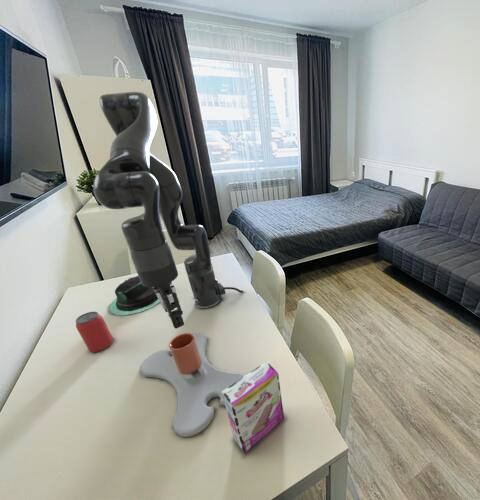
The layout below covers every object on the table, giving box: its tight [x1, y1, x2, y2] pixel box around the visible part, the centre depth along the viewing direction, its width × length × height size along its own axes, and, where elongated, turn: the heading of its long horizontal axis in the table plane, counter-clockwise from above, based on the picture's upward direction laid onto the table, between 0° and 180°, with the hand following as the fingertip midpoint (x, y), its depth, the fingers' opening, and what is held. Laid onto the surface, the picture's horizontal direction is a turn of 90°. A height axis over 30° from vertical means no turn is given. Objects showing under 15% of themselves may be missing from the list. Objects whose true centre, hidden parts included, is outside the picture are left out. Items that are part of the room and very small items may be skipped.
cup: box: [168, 332, 202, 374], centre depth 73 cm, size 6×6×9 cm
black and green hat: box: [109, 275, 161, 316], centre depth 113 cm, size 15×19×20 cm
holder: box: [139, 332, 245, 438], centre depth 77 cm, size 19×34×5 cm, turn 49°
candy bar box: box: [222, 361, 285, 454], centre depth 61 cm, size 11×5×16 cm, turn 136°
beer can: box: [75, 311, 114, 353], centre depth 87 cm, size 7×7×12 cm
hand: (174, 318), depth 68 cm, fingers open, 8 cm apart
